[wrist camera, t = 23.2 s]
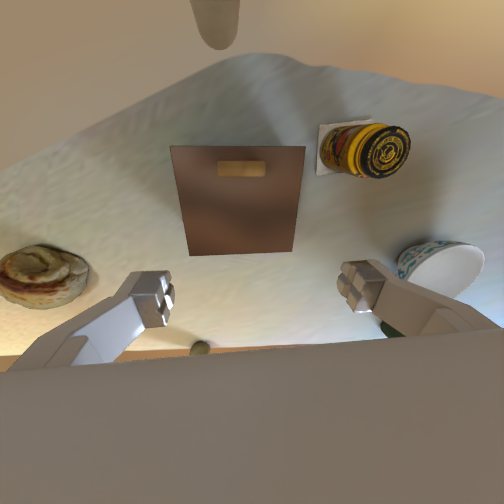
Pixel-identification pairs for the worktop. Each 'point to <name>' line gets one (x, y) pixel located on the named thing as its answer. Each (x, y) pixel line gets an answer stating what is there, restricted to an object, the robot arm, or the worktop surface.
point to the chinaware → (441, 266)
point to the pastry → (41, 277)
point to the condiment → (361, 149)
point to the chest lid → (238, 197)
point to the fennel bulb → (200, 349)
